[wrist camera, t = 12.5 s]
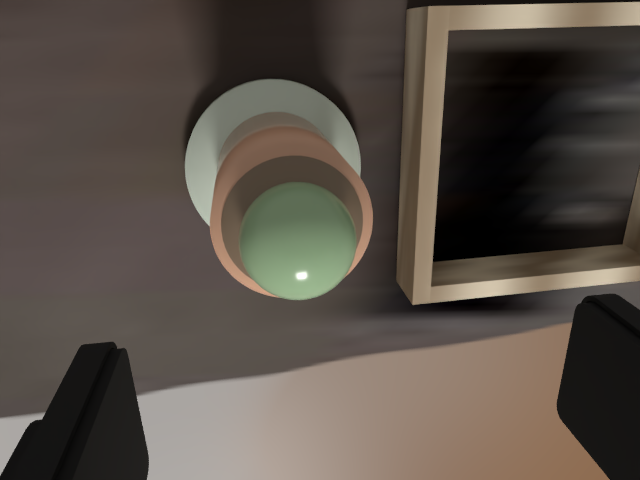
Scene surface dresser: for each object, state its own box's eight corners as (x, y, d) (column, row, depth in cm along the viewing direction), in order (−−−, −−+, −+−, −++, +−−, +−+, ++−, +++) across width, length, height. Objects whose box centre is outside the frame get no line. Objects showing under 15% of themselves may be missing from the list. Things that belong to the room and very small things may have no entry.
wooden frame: (693, 3, 27) (765, -2, 23) (633, 257, 33) (683, 285, 29) (406, 9, 25) (436, 5, 21) (396, 280, 31) (418, 313, 27)
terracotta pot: (334, 109, 25) (405, 163, 15) (334, 222, 27) (396, 339, 17) (211, 113, 24) (193, 174, 14) (223, 230, 26) (214, 358, 16)
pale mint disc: (356, 74, 26) (361, 76, 25) (356, 238, 29) (360, 244, 28) (175, 82, 24) (173, 83, 23) (197, 251, 28) (196, 259, 27)
